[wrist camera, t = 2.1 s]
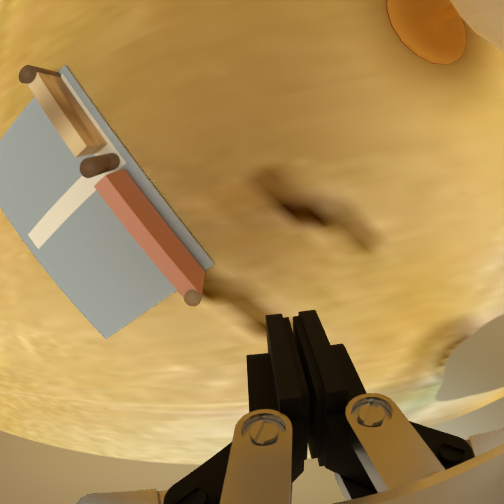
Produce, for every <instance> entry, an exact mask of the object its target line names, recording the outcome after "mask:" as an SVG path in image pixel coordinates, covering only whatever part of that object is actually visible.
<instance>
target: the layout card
mask: <svg viewBox="0 0 504 504" xmlns="http://www.w3.org/2000/svg"><path fill="white" fill-rule="evenodd" d="M58 73H60V75H61V78H62V79H63V81H64V82H65V84H66V85H67V87H68V88H69V90H70V91H71V93H72V94H73V96H74V97H75V98H76V100H77V101H78V103H79V104H80V106H81V107H82V108H83V110H84V111H85V113H86V114H87V116H88V117H89V118H90V120H91V121H92V123H93V124H94V125H95V127H96V128H97V130H98V131H99V132H100V134H101V135H102V136H103V138H104V139H105V141H106V142H107V143H108V144H107V145H106V146H105V147H104V148H102V149H101V150H100V151H99V152H98V153H96V154H91V155H86V156H81V157H76V158H75V156H74V155H73V153H72V152H71V150H70V149H69V148H68V146H67V145H66V143H65V142H64V140H63V139H62V137H61V136H60V134H59V133H58V131H57V130H56V128H55V127H54V125H53V124H52V122H51V121H50V119H49V118H48V116H47V115H46V113H45V112H44V110H43V109H42V107H41V106H40V104H39V102H38V101H37V99H36V98H35V97H34V98H33V100H32V101H31V102H30V103H29V104H28V105H27V107H26V108H25V109H24V110H23V111H22V113H21V114H20V115H19V116H18V117H17V119H16V120H15V121H14V123H13V124H12V125H11V126H10V128H9V129H8V130H7V132H6V133H5V134H4V136H3V137H2V138H1V140H0V207H1V209H2V210H3V212H4V213H5V215H6V217H7V218H8V220H9V221H10V222H11V224H12V225H13V227H14V228H15V230H16V231H17V233H18V234H19V235H20V237H21V238H22V240H23V241H24V242H25V244H26V245H27V247H28V248H29V249H30V251H31V252H32V253H33V255H34V256H35V257H36V259H37V260H38V261H39V263H40V264H41V265H42V266H43V268H44V269H45V270H46V272H47V273H48V274H49V275H50V277H51V278H52V279H53V280H54V281H55V283H56V284H57V285H58V286H59V288H60V289H61V290H62V291H63V292H64V293H65V295H66V296H67V297H68V298H69V299H70V300H71V302H72V303H73V304H74V305H75V306H76V307H77V308H78V310H79V311H80V312H81V313H82V314H83V315H84V316H85V317H86V318H87V320H88V321H89V322H90V323H91V324H92V325H93V326H94V327H95V328H96V329H97V330H98V331H99V332H100V333H101V334H102V336H103V337H104V338H105V339H107V338H108V337H110V336H111V335H113V334H114V333H116V332H117V331H118V330H120V329H121V328H123V327H124V326H126V325H127V324H129V323H130V322H131V321H133V320H134V319H136V318H137V317H139V316H140V315H142V314H143V313H144V312H146V311H147V310H149V309H150V308H152V307H153V306H155V305H156V304H158V303H159V302H160V301H162V300H163V299H165V298H166V297H168V296H169V295H171V294H172V293H174V292H175V291H176V288H175V287H174V286H173V285H172V284H171V283H170V281H169V280H168V279H167V278H166V277H165V276H164V274H163V273H162V272H161V271H160V270H159V268H158V267H157V266H156V265H155V264H154V262H153V261H152V260H151V259H150V258H149V256H148V255H147V254H146V253H145V252H144V250H143V249H142V248H141V247H140V245H139V244H138V243H137V242H136V240H135V239H134V238H133V237H132V235H131V234H130V233H129V232H128V230H127V229H126V228H125V227H124V225H123V224H122V223H121V222H120V220H119V219H118V218H117V216H116V215H115V214H114V213H113V211H112V210H111V209H110V207H109V206H108V205H107V203H106V202H105V201H104V199H103V198H102V197H101V195H100V194H99V193H98V191H97V190H96V189H95V187H94V186H95V185H96V184H97V183H98V182H99V181H100V180H101V179H102V178H103V177H104V176H105V175H108V174H110V173H113V172H116V171H119V170H122V169H125V170H126V171H127V173H128V174H129V175H130V177H131V178H132V179H133V181H134V182H135V183H136V185H137V186H138V187H139V189H140V190H141V191H142V193H143V194H144V195H145V197H146V198H147V199H148V200H149V202H150V203H151V204H152V206H153V207H154V208H155V210H156V211H157V212H158V213H159V215H160V216H161V217H162V219H163V220H164V221H165V222H166V224H167V225H168V226H169V227H170V229H171V230H172V231H173V232H174V234H175V235H176V236H177V238H178V239H179V240H180V241H181V243H182V244H183V245H184V246H185V248H186V249H187V250H188V251H189V252H190V254H191V255H192V256H193V257H194V259H195V260H196V261H197V262H198V264H199V265H200V266H201V267H202V268H203V270H204V271H206V270H207V269H209V268H210V267H212V266H213V265H214V264H215V263H214V262H213V260H212V259H211V258H210V257H209V255H208V254H207V253H206V252H205V250H204V249H203V248H202V247H201V245H200V244H199V243H198V242H197V240H196V239H195V238H194V237H193V235H192V234H191V233H190V231H189V230H188V229H187V228H186V226H185V225H184V224H183V222H182V221H181V220H180V219H179V217H178V216H177V215H176V213H175V212H174V211H173V210H172V208H171V207H170V206H169V204H168V203H167V202H166V201H165V199H164V198H163V197H162V195H161V194H160V193H159V191H158V190H157V189H156V187H155V186H154V185H153V184H152V182H151V181H150V180H149V178H148V177H147V176H146V174H145V173H144V172H143V170H142V169H141V168H140V166H139V165H138V164H137V162H136V161H135V160H134V158H133V157H132V156H131V154H130V153H129V152H128V150H127V149H126V148H125V146H124V145H123V143H122V142H121V141H120V139H119V138H118V137H117V135H116V134H115V133H114V131H113V130H112V129H111V127H110V126H109V124H108V123H107V122H106V120H105V119H104V117H103V116H102V115H101V113H100V112H99V111H98V109H97V108H96V106H95V105H94V104H93V102H92V101H91V99H90V98H89V97H88V95H87V94H86V92H85V91H84V89H83V88H82V87H81V85H80V84H79V82H78V81H77V80H76V78H75V77H74V75H73V74H72V72H71V71H70V69H69V68H68V67H67V65H65V66H64V67H62V68H61V69H60V71H59V72H58ZM108 153H115V154H117V155H118V156H119V159H120V164H119V166H118V167H117V168H116V169H114V170H111V171H109V172H106V173H103V174H100V175H97V176H94V177H91V178H85V177H84V176H82V174H81V173H80V164H81V162H82V161H83V160H84V159H85V158H89V157H94V156H98V155H103V154H108Z"/></svg>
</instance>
